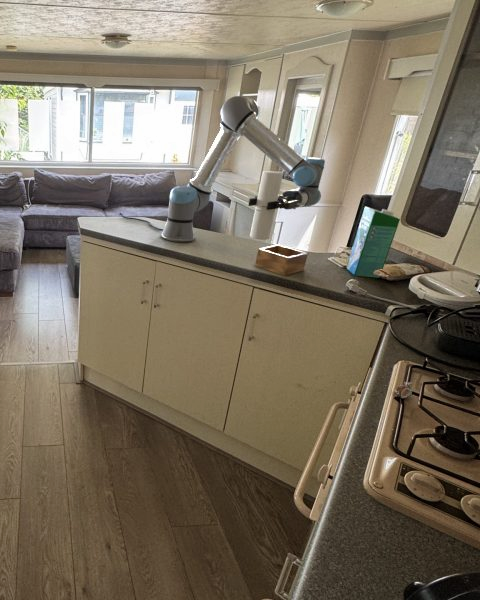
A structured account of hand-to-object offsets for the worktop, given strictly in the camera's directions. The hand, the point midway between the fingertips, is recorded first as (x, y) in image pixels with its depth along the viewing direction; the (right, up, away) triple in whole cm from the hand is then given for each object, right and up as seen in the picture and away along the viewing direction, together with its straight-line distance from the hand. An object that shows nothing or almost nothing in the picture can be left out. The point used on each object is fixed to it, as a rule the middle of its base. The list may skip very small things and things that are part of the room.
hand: (258, 204), depth 162 cm
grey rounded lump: (+2, -57, -68) cm, 89 cm away
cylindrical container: (+4, -12, +8) cm, 15 cm away
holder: (+11, -24, +8) cm, 27 cm away
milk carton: (+43, -26, +6) cm, 51 cm away
